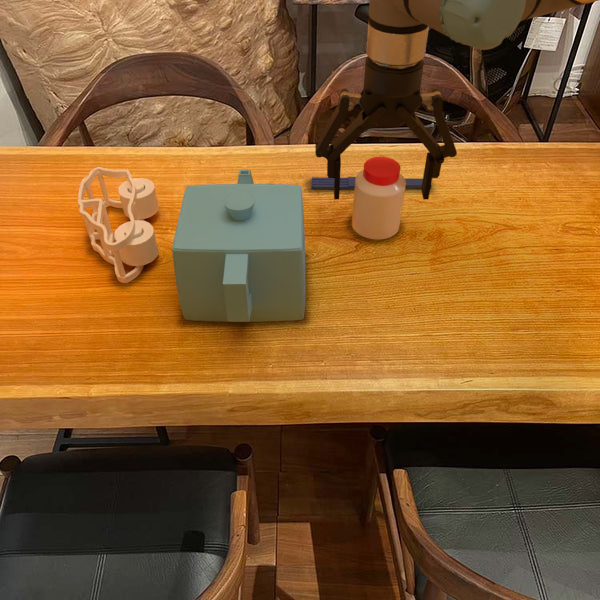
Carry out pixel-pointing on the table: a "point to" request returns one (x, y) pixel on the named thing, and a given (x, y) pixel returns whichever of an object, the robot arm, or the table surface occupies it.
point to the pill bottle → (378, 198)
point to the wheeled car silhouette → (129, 236)
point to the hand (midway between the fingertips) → (380, 194)
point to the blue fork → (350, 183)
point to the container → (241, 252)
